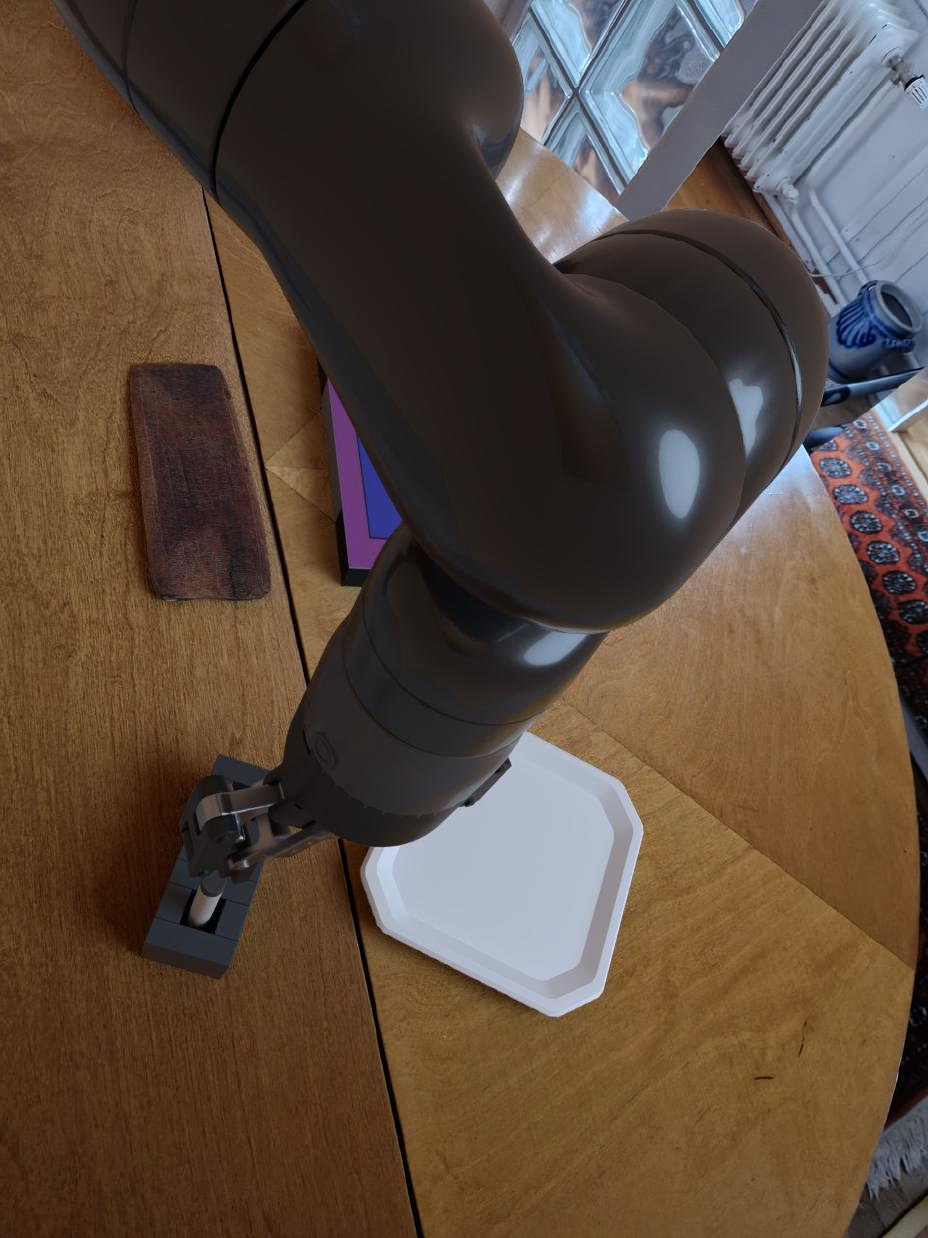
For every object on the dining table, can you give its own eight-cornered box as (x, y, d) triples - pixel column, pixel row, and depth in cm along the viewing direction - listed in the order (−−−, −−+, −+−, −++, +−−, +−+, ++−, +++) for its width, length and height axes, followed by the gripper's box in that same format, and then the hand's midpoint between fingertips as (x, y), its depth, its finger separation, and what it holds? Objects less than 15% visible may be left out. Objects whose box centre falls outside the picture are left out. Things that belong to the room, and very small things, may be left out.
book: (508, 349, 99) (564, 579, 85) (498, 369, 101) (551, 595, 87) (321, 320, 91) (349, 568, 77) (315, 342, 94) (341, 586, 80)
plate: (436, 695, 77) (444, 684, 75) (641, 804, 79) (654, 796, 77) (334, 917, 65) (341, 910, 63) (579, 1040, 67) (593, 1037, 65)
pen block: (220, 980, 60) (229, 967, 56) (140, 957, 59) (144, 942, 55) (281, 800, 68) (293, 777, 64) (211, 777, 67) (219, 753, 63)
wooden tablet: (125, 351, 82) (236, 350, 85) (127, 369, 84) (235, 367, 87) (150, 599, 71) (277, 588, 74) (152, 613, 73) (275, 601, 76)
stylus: (180, 932, 61) (197, 887, 51) (190, 913, 62) (209, 865, 52) (198, 940, 61) (219, 897, 52) (208, 921, 62) (230, 875, 52)
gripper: (532, 603, 38) (418, 747, 51) (188, 655, 31) (159, 805, 44) (602, 767, 35) (462, 875, 48) (239, 862, 28) (191, 957, 41)
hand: (316, 841), depth 46 cm, fingers open, 8 cm apart
